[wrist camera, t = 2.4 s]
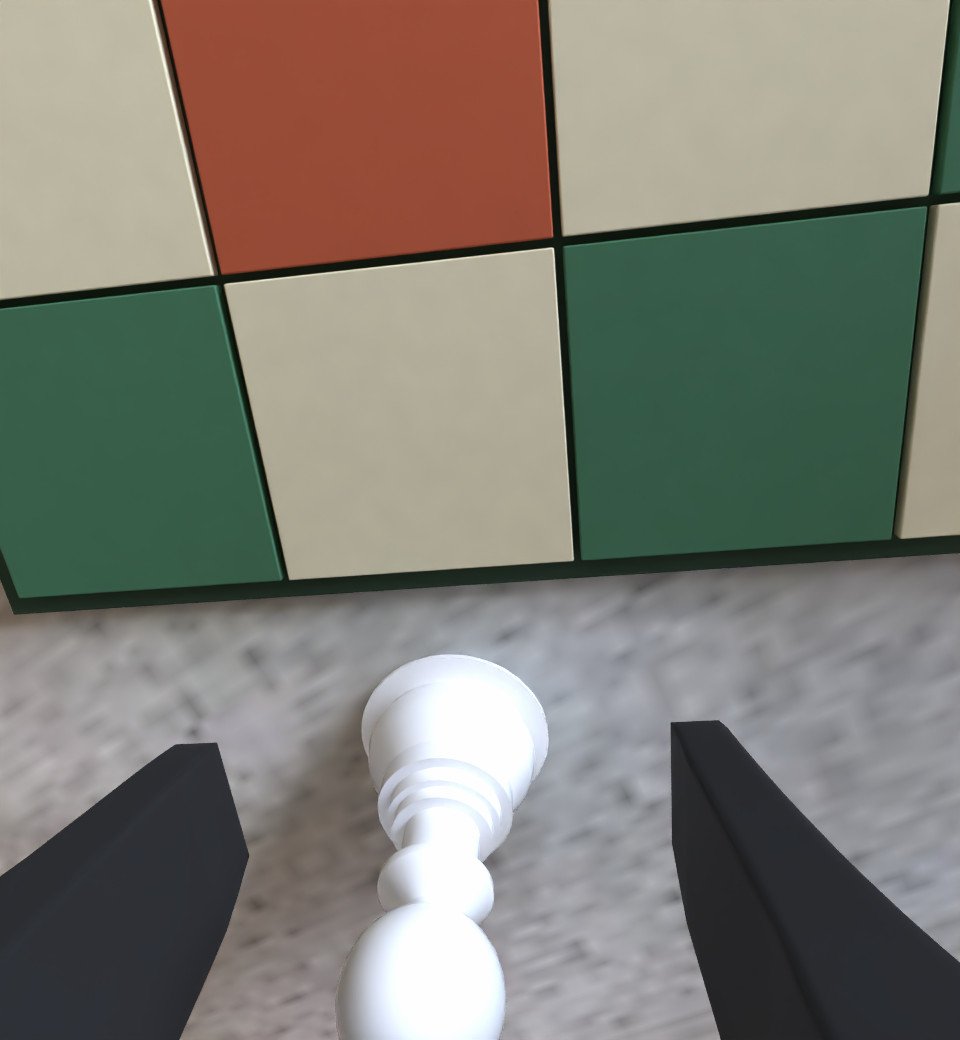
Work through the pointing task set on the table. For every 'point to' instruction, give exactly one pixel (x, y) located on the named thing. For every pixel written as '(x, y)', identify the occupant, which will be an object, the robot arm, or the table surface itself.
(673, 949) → the table surface
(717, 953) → the robot arm
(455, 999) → the chess pawn
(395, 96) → the chess mat
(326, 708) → the table surface
